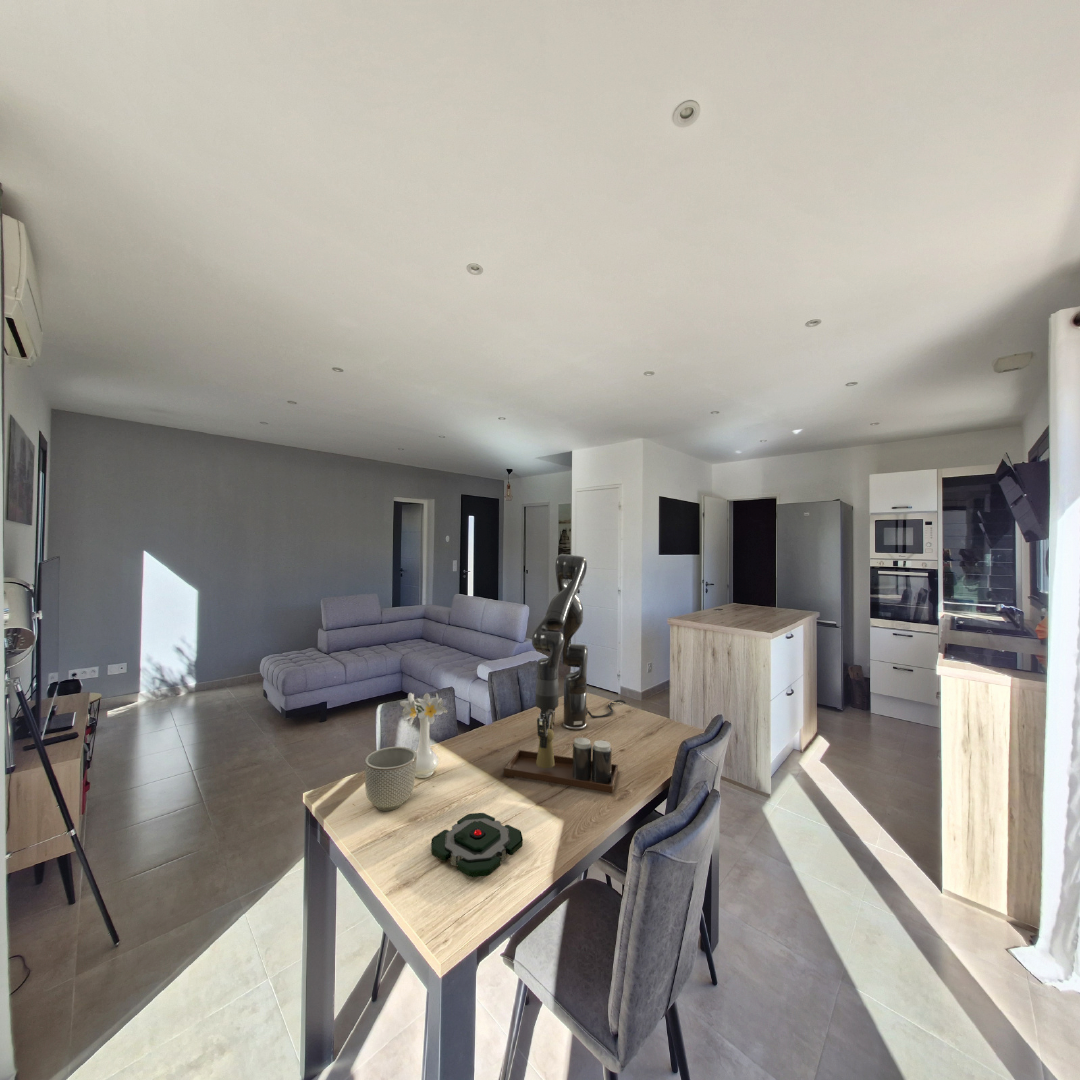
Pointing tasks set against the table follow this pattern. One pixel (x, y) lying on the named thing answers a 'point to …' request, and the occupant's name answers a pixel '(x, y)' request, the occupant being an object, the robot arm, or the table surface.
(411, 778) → the planter
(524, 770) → the tray
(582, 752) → the cylinder
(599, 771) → the black shaker
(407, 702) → the flower vase
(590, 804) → the table surface
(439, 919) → the table surface
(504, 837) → the flat green button pad
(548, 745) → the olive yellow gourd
